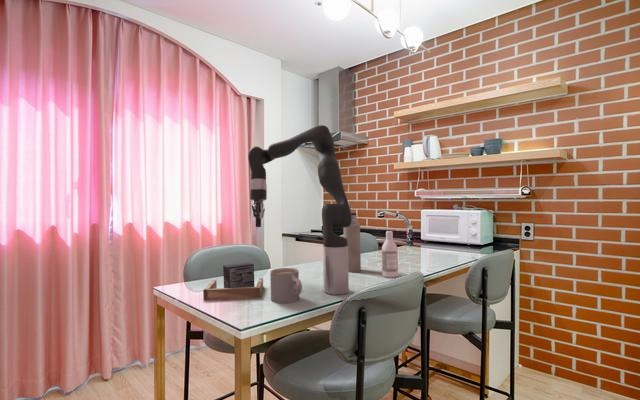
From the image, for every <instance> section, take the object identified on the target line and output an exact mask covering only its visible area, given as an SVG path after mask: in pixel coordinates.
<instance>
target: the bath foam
mask: <svg viewBox="0 0 640 400" xmlns="http://www.w3.org/2000/svg"><path fill="white" fill-rule="evenodd" d="M393 232H394V231H391V230H386V232H385V240H384V243H383V244H382V246H381V272H382V273H381V274H382V276H383V277H384V278H397V277H398V276H399V257H398V256H399V255H398V254H399V251H398V246H397V244H396V242H395V240H394V239H393V237H394V236H393V235H394V233H393Z"/></svg>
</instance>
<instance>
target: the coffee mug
mask: <svg viewBox="0 0 640 400" xmlns="http://www.w3.org/2000/svg"><path fill="white" fill-rule="evenodd" d="M299 273H300V272H299V269H298V268H292V267H279V268H275V269H271V270H270V272H269V274H270V301H271V302H273V303H276V304H287V303H293V302H296V301H298V300H299V299H300V295H301V293H302V290H303V285H302V281H301V279H300V278H299V276H300V275H299Z"/></svg>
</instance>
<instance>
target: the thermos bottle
mask: <svg viewBox="0 0 640 400" xmlns="http://www.w3.org/2000/svg"><path fill="white" fill-rule="evenodd" d="M351 215H352V221H351V225H350V226H349V227H345V228H343V237H345V238H346V239H347V240H348V273H358V272H361V271H362V263H361V261H362V260H361V259H362V258H361V224H360V222H359V219H357V217H358V216H357V213H356V212H351Z"/></svg>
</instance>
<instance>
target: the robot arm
mask: <svg viewBox="0 0 640 400" xmlns="http://www.w3.org/2000/svg"><path fill="white" fill-rule="evenodd" d="M310 142H311V143H312V145H313V147H314V149H315V151H316V153H317V155H318V159H319V163H318V165H317V176H318V180H319V183H320V186H321V187H322V189H324V190H325V191H326V192H327V194H329V195H330V196H331V197H332V198H333V199H334V201H335V202H336V203H325V204H324V205H322V209H321V220H322V221H321V222H322V240H323V241H322V242H323V243H322V244H323V245H322V246H323V248H322V249H323V284H324V285H323V287H324V289H323V292H325V293H326V294H329V295H333V296H335V295H344V294H349V292H350V291H349V290H350V287H349V286H350V285H349V283H350V282H349V280H350V279H349V272H348V240H347V239H346V238H345V237H344V236H341V235H338V234H336V233H335V232H334V231H333V229H344V228H345V227H349V226H350V225H351V221H352V215H351V213H352V210H351V207H350V204H349V201H348V198H347V195H346V192H345V187H344V184H343V179H342V174H341V170H340V169H341V168H340V165H339V162H338V159H337V158H336V153H335V151H336V150H335V141H334V138H333V135H332V133H331V131H330V129H329V127H328V126H327V125H324V124H322V125H317V126H314V127H311V128H309V129H308V130H305V131H303V132H301V133H299V134H296V135H294V136H293V137H290V138H288V139H284V140H281V141H277V142H274V143H272V144H269V145H268V148H265V149H263V148H262V147H260V146H252V147H251V148H250V149H249V151H248V153H247V154H248V159H247V160H248V164H249V168H250V182H249V183H250V185H249V188H250V189H249V191H250V193H249V194H250V195H249V199H250V200H251V201H253V204H252V205H251V210H252V214H253V217H254V220H255V228H261V227H262V219H263V218H264V214H265V211H266V209H265V205H264V202H263V201H267V199H268V197H267V196H268V195H267V193H268V192H267V191H268V190H267V189H268V188H267V186H268V185H267V170H266V168H265V167H264V165H265V164H268V163H271V162H272V161H274V160H276V159H279V158H283V157H284V158H285V157H287V156H289V155H291V154H293V153H294V152H295V151H296V150H297V149H298V148H299V147H301V146H302V145H303V144H307V143H310Z"/></svg>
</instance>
